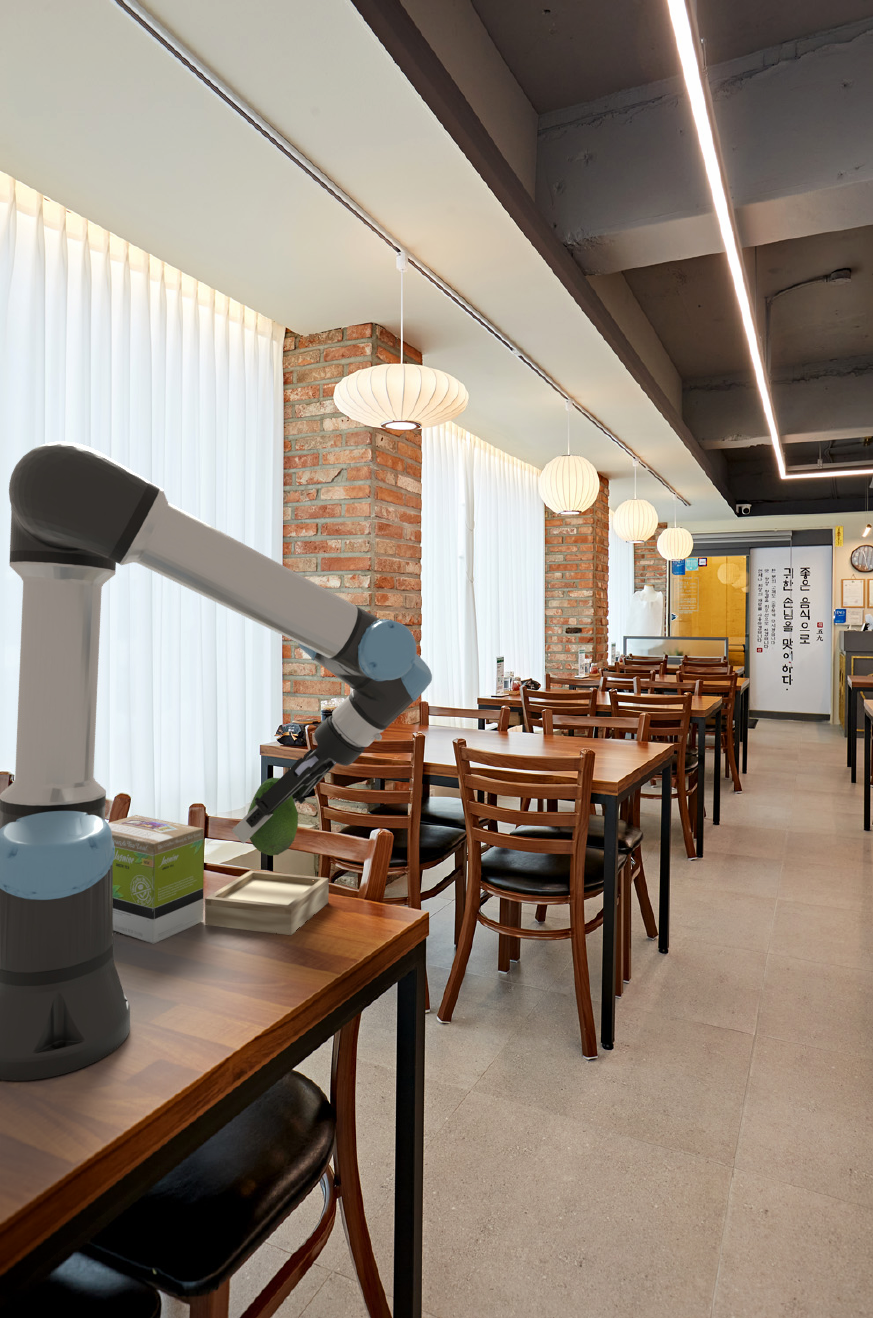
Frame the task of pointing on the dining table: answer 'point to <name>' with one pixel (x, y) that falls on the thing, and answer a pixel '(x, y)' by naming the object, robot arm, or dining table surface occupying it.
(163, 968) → the dining table surface
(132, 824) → the tea box
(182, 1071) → the dining table surface
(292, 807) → the avocado
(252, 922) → the wooden tray
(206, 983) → the dining table surface
